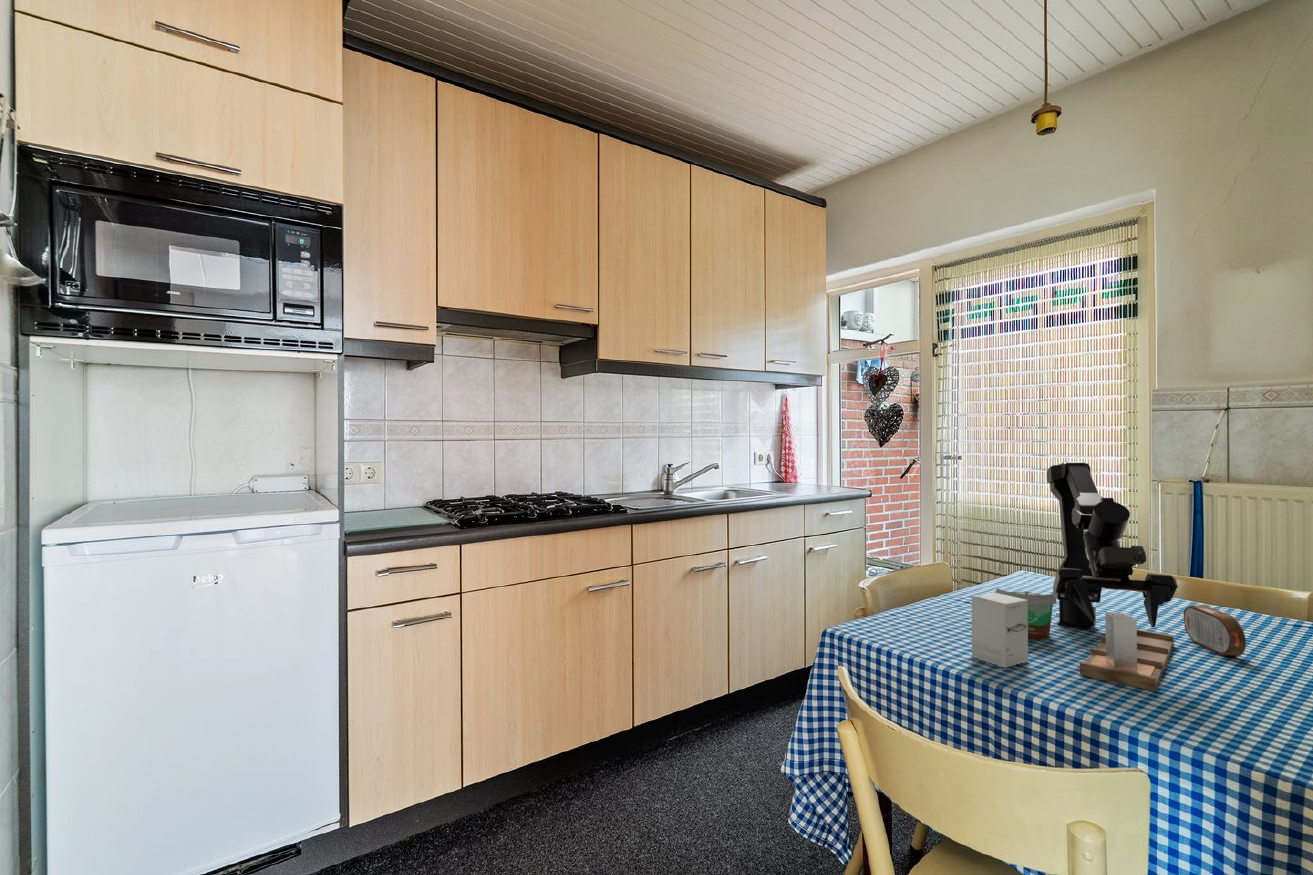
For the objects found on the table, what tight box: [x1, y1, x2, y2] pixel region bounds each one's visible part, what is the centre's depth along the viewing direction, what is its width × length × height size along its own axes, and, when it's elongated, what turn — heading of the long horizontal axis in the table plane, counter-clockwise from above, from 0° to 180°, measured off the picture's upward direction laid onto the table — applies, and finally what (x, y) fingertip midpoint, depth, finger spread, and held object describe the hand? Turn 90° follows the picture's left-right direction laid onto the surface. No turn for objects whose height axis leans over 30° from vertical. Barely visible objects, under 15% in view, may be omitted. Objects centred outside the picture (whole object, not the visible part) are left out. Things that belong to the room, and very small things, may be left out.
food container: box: [994, 587, 1057, 641], centre depth 136 cm, size 12×6×10 cm, turn 68°
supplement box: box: [971, 592, 1029, 669], centre depth 121 cm, size 7×7×13 cm
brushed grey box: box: [1104, 611, 1138, 672], centre depth 114 cm, size 5×4×10 cm
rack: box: [1079, 628, 1175, 692], centre depth 121 cm, size 11×34×2 cm, turn 135°
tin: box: [1183, 604, 1247, 657], centre depth 127 cm, size 15×3×8 cm, turn 168°
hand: (1123, 623), depth 112 cm, fingers open, 9 cm apart
